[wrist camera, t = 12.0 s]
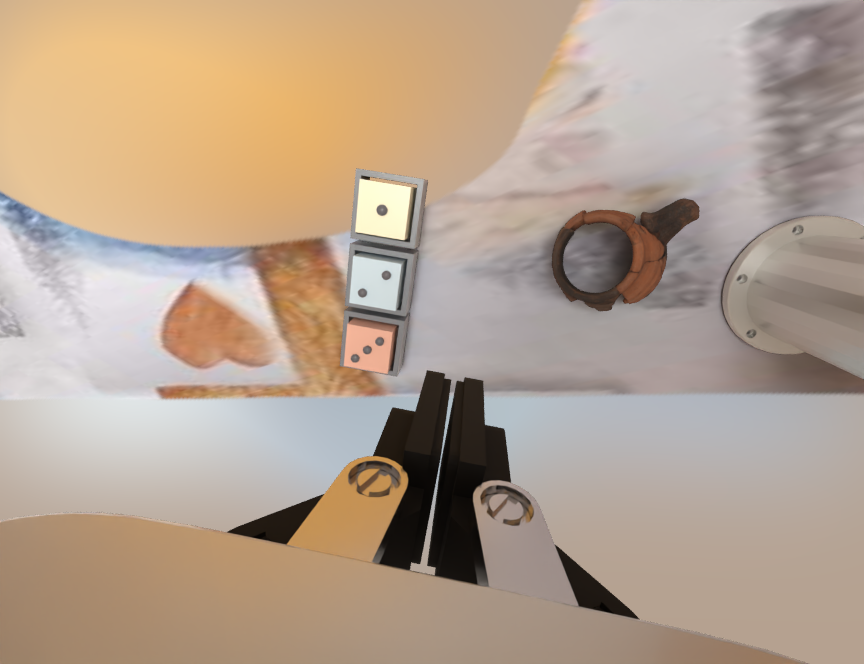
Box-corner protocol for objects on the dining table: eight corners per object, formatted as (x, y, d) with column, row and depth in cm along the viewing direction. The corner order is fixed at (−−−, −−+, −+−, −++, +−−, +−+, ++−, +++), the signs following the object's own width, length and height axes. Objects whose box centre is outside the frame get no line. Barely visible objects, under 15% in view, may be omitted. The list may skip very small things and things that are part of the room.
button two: (408, 257, 39) (400, 264, 35) (402, 300, 41) (394, 311, 37) (365, 250, 39) (352, 256, 35) (361, 293, 41) (348, 303, 37)
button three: (400, 319, 41) (392, 333, 37) (395, 358, 43) (386, 375, 39) (359, 312, 42) (346, 324, 37) (355, 351, 43) (342, 367, 39)
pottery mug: (608, 324, 40) (586, 336, 34) (551, 253, 43) (519, 251, 36) (729, 240, 34) (731, 234, 27) (653, 162, 36) (638, 139, 30)
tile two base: (418, 250, 39) (413, 254, 36) (410, 308, 41) (405, 316, 38) (359, 240, 40) (350, 243, 37) (353, 298, 42) (344, 305, 39)
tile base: (409, 312, 41) (404, 321, 39) (402, 364, 43) (397, 376, 41) (353, 302, 42) (344, 310, 39) (348, 354, 44) (339, 365, 41)
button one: (417, 188, 37) (410, 187, 33) (411, 236, 38) (403, 240, 34) (371, 180, 37) (358, 178, 33) (367, 228, 39) (354, 232, 35)
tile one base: (428, 180, 37) (424, 179, 34) (419, 245, 39) (414, 249, 36) (365, 170, 37) (356, 168, 35) (359, 235, 39) (350, 238, 37)
